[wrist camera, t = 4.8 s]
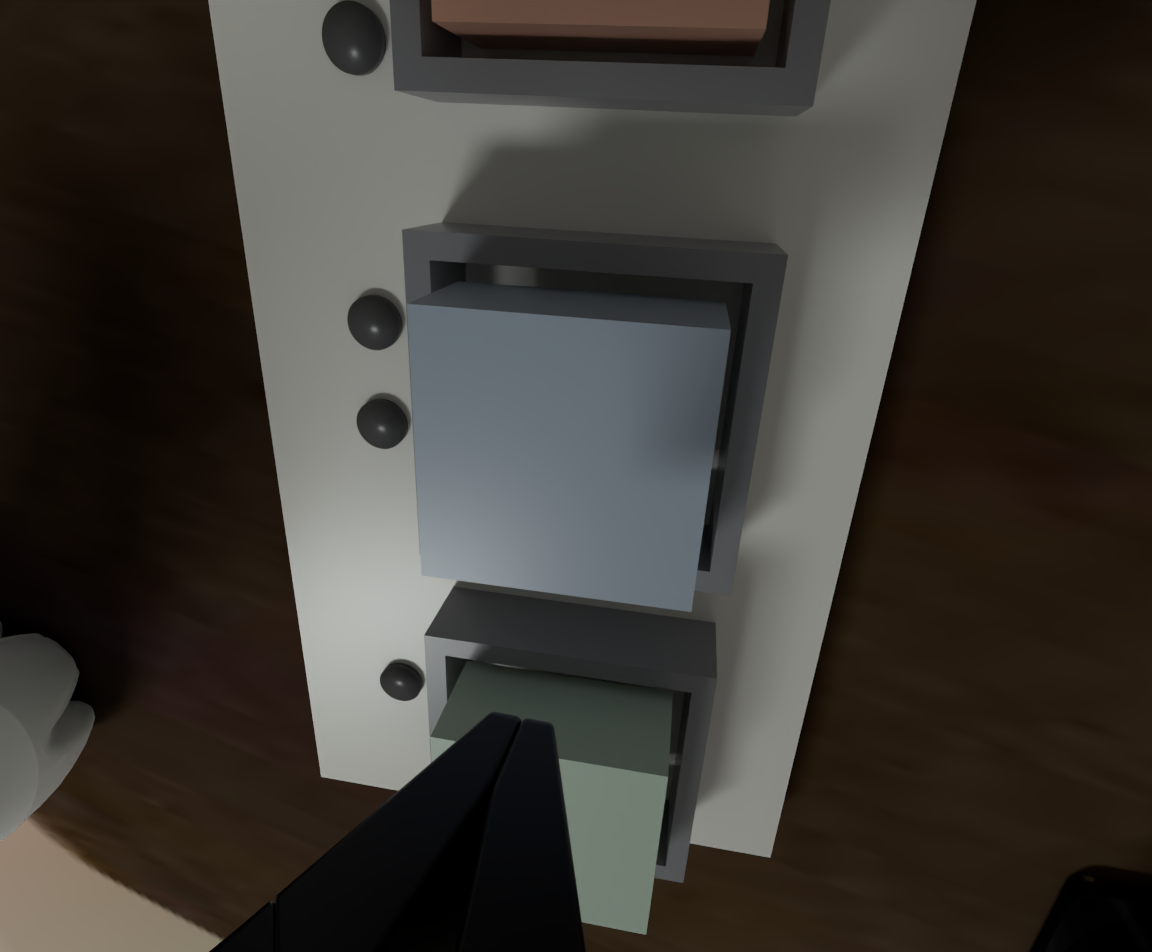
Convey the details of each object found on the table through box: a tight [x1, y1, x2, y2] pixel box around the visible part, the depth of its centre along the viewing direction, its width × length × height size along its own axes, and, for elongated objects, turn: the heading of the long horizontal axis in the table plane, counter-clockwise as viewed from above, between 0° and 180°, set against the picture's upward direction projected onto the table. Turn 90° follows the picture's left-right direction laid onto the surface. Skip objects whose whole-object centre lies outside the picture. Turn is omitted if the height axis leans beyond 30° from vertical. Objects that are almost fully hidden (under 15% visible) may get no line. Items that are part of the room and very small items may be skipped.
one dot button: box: [430, 661, 673, 935], centre depth 16 cm, size 5×5×2 cm
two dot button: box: [407, 281, 731, 612], centre depth 13 cm, size 5×5×2 cm
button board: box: [208, 0, 976, 883], centre depth 15 cm, size 27×14×4 cm, turn 177°
